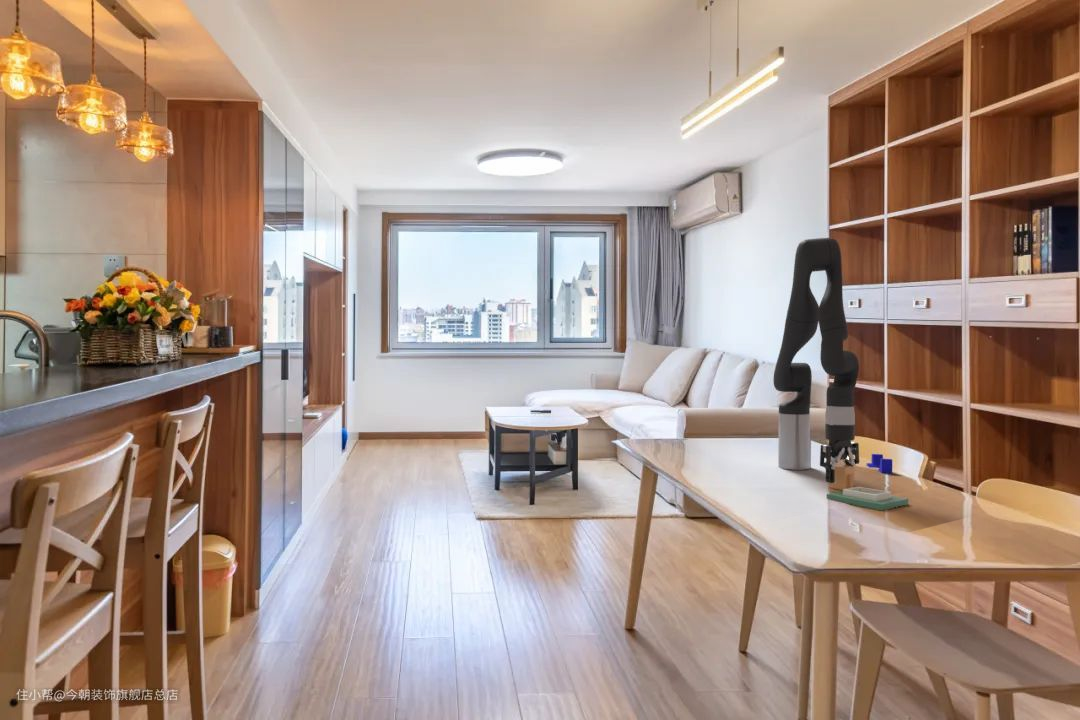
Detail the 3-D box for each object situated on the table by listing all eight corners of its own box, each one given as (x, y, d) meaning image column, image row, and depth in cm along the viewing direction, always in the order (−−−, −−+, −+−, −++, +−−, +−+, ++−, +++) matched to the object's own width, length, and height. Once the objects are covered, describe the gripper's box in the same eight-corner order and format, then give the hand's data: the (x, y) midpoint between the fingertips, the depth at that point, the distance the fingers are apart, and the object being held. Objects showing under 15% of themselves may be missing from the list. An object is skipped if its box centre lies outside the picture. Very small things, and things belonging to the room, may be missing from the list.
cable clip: (866, 472, 231) (866, 453, 231) (881, 472, 230) (881, 454, 230) (876, 478, 219) (876, 459, 219) (892, 479, 218) (892, 459, 218)
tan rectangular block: (837, 488, 201) (837, 464, 201) (856, 492, 197) (856, 466, 197) (828, 490, 199) (828, 465, 199) (847, 493, 194) (847, 468, 194)
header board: (853, 494, 193) (853, 483, 193) (908, 504, 181) (908, 492, 181) (826, 499, 186) (826, 488, 186) (881, 510, 174) (881, 498, 174)
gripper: (843, 420, 205) (843, 477, 205) (811, 422, 197) (811, 481, 197) (867, 422, 199) (867, 481, 198) (836, 424, 191) (836, 485, 191)
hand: (839, 481), depth 198 cm, fingers open, 8 cm apart
